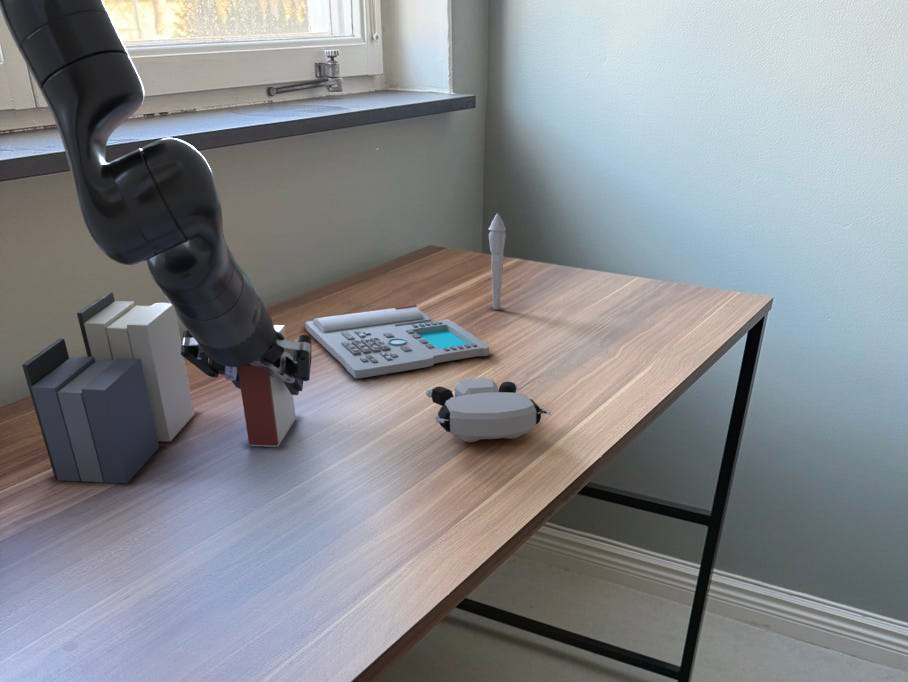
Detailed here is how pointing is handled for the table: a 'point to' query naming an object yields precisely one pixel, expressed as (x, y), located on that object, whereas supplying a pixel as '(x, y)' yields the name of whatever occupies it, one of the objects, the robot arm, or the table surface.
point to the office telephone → (393, 340)
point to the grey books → (91, 414)
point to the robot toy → (485, 410)
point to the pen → (497, 257)
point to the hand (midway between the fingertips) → (272, 386)
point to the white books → (143, 354)
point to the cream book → (266, 404)
